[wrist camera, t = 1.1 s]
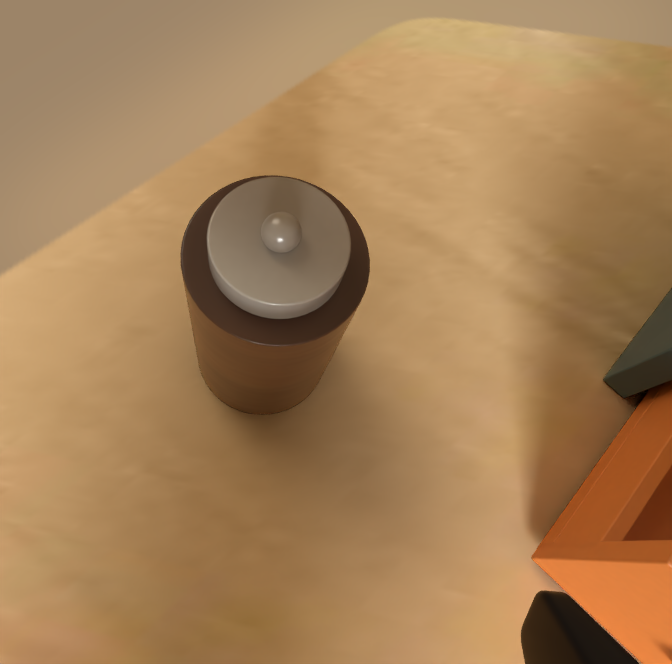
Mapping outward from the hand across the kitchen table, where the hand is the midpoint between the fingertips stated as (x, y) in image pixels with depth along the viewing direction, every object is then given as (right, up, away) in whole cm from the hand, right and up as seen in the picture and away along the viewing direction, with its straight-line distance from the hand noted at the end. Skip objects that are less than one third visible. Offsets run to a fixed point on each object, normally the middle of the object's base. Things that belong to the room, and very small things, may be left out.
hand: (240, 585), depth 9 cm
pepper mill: (-1, +3, +15) cm, 16 cm away
